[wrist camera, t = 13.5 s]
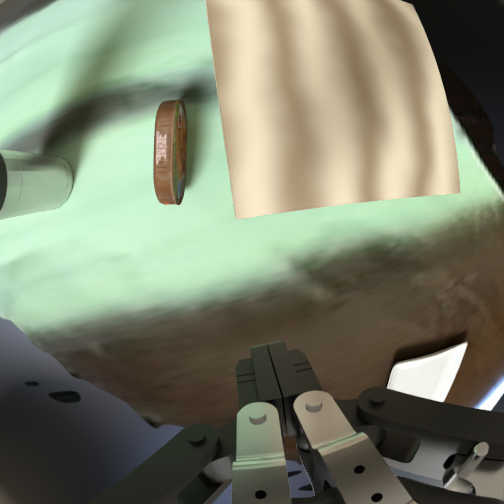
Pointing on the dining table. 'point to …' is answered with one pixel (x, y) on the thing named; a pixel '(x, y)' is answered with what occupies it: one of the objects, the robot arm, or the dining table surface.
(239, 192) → the stool
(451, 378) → the square plate
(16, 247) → the dining table surface
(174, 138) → the tin
